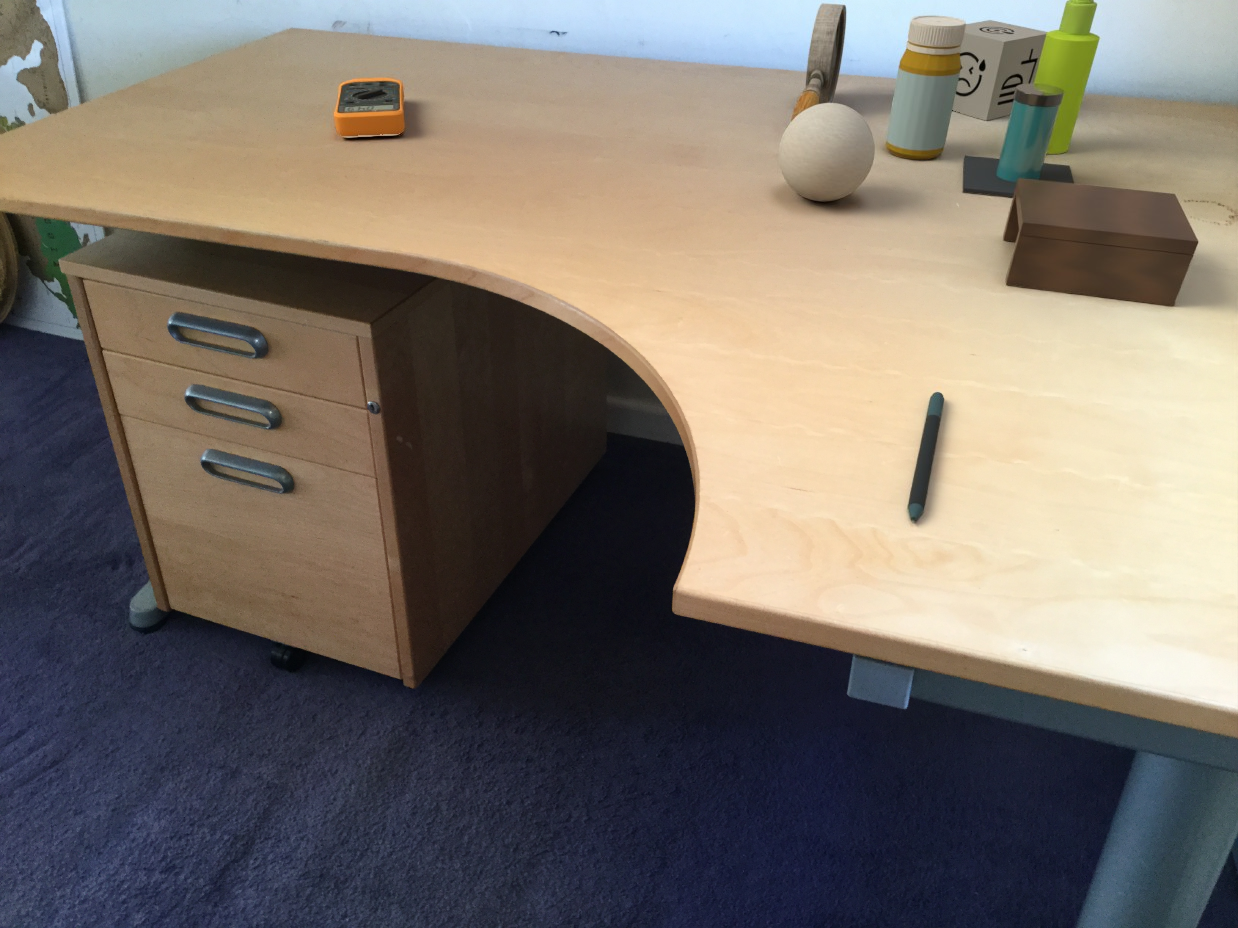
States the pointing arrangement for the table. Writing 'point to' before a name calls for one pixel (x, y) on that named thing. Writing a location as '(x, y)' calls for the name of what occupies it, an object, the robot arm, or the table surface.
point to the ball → (826, 152)
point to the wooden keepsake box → (1098, 241)
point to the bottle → (925, 87)
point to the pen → (925, 457)
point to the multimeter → (370, 107)
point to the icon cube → (995, 67)
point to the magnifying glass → (823, 57)
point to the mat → (985, 181)
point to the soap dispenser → (1068, 66)
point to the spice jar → (1029, 131)
